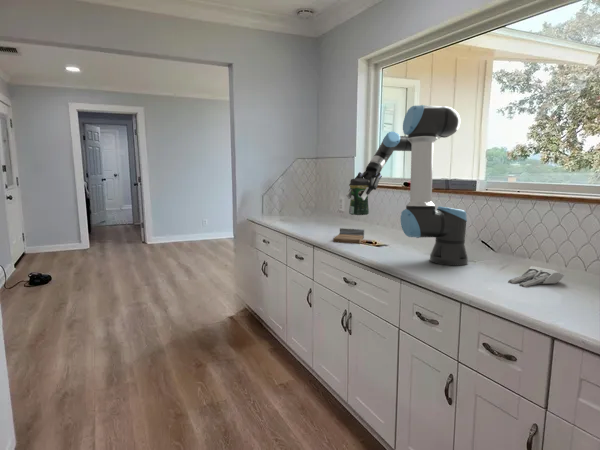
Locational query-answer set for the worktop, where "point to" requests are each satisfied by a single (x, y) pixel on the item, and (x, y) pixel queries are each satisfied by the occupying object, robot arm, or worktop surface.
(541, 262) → the worktop surface
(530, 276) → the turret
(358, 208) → the coffee jar
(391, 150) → the robot arm
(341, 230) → the brown piece
